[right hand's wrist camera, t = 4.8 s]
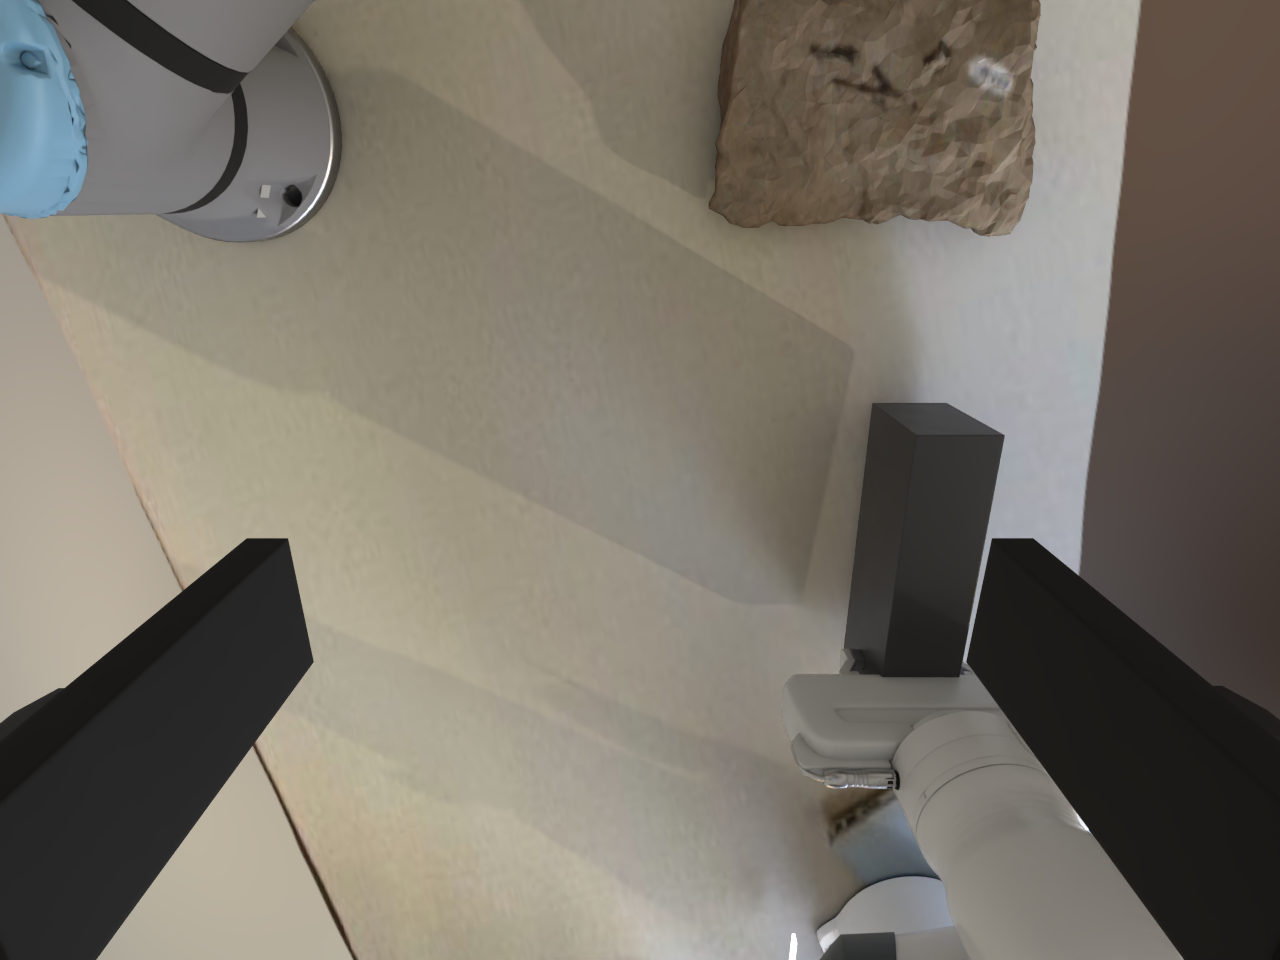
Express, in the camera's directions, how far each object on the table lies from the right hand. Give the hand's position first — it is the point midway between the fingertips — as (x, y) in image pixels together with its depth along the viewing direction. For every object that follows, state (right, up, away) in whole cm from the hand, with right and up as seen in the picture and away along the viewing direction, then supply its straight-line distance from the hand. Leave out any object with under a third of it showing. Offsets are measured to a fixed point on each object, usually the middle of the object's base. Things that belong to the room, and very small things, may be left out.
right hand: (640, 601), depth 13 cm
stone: (+15, +27, +33) cm, 45 cm away
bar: (+20, -3, +43) cm, 47 cm away
